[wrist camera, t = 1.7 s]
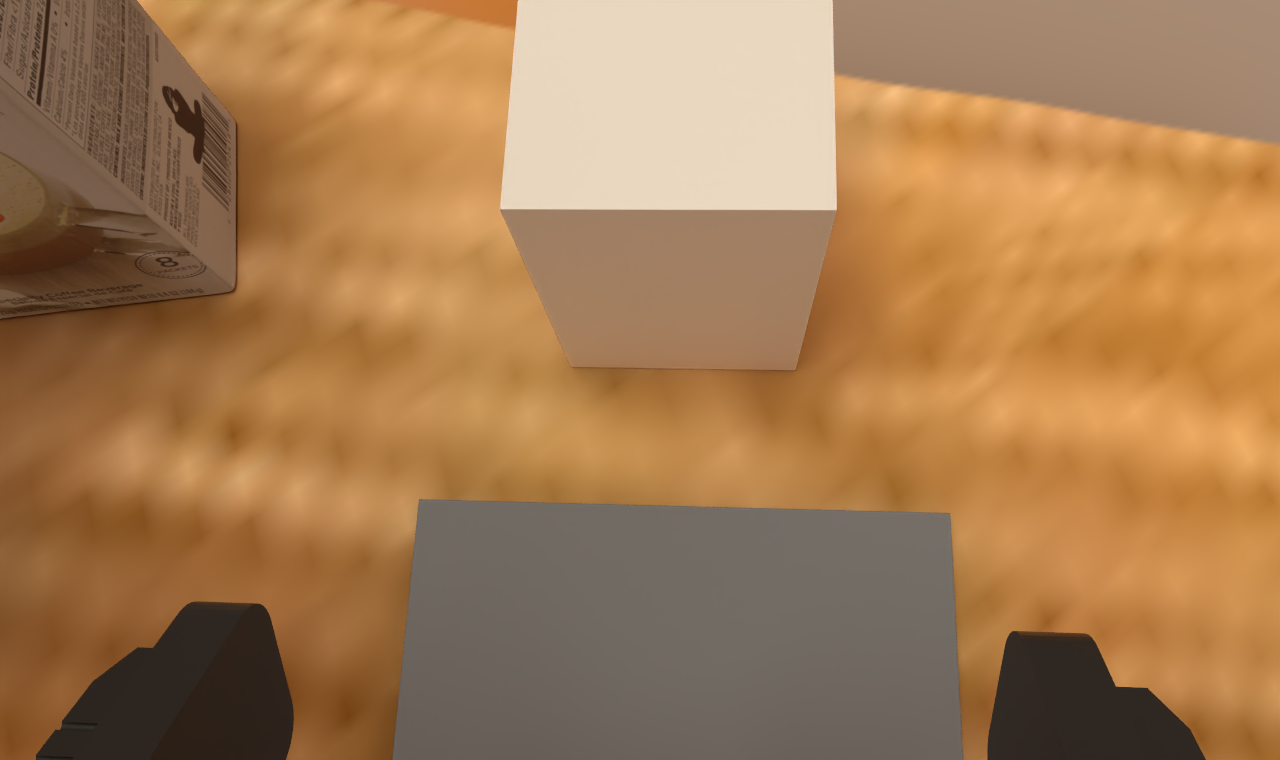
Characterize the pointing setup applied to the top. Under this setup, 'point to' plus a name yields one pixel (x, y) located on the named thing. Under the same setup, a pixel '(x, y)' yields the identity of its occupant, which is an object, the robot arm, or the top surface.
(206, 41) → the top surface
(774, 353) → the white rectangular block
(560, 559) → the mat
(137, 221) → the coffee box
